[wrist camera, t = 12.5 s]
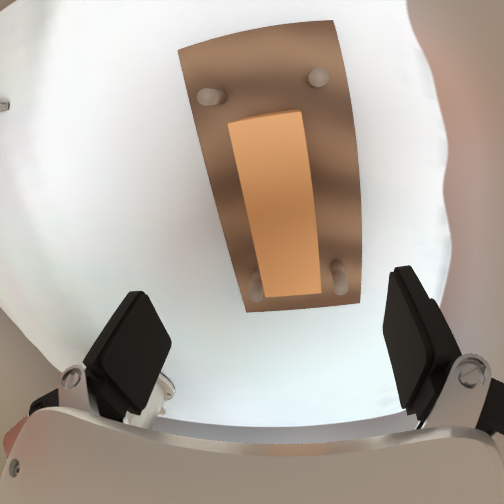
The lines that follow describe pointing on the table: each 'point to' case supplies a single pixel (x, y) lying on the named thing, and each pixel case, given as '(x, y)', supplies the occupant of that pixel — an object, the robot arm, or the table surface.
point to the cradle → (317, 140)
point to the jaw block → (279, 200)
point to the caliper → (4, 106)
